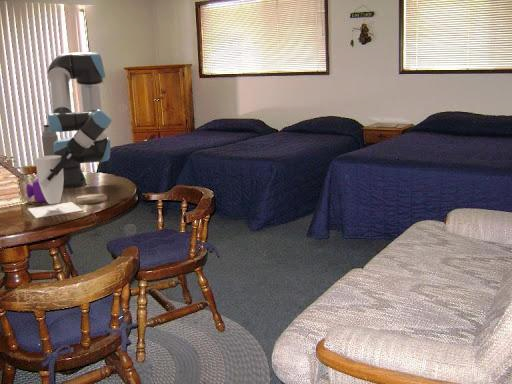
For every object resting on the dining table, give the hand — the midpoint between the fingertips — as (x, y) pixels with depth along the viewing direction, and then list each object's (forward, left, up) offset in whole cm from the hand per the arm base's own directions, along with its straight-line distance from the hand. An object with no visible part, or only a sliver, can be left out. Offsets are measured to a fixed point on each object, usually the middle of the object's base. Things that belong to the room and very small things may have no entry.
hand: (45, 182), depth 224 cm
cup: (+1, +2, -12) cm, 12 cm away
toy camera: (-21, +2, -12) cm, 24 cm away
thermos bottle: (-78, +19, -12) cm, 81 cm away
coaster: (-6, +19, -12) cm, 23 cm away
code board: (+1, +2, -12) cm, 12 cm away
